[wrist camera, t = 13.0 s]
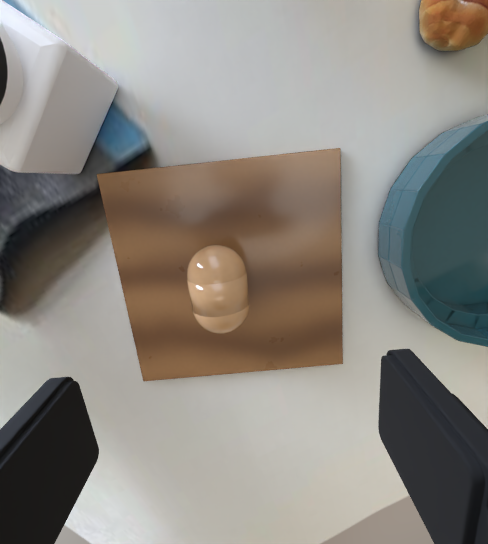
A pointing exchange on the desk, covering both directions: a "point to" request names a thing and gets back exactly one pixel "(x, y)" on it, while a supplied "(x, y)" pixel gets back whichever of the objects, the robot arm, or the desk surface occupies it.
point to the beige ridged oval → (218, 289)
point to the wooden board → (247, 243)
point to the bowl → (442, 233)
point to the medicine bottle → (47, 98)
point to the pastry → (453, 23)
